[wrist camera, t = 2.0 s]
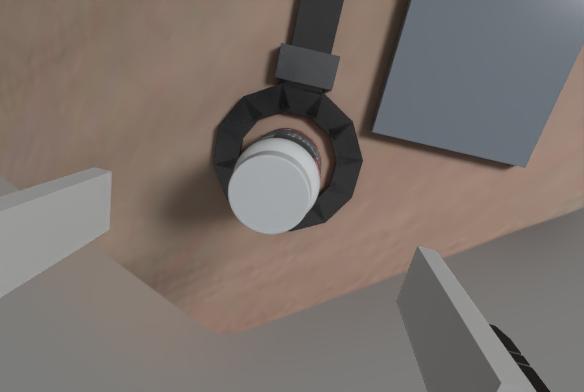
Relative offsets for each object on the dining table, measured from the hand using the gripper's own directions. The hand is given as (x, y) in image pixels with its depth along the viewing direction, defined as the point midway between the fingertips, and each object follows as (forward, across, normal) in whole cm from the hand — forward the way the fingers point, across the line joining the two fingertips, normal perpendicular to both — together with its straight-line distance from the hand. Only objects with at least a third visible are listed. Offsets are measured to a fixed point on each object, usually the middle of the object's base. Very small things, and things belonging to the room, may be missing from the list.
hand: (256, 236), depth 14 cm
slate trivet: (+14, +12, +10) cm, 21 cm away
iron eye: (+14, 0, +5) cm, 15 cm away
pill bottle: (+15, 0, 0) cm, 15 cm away
